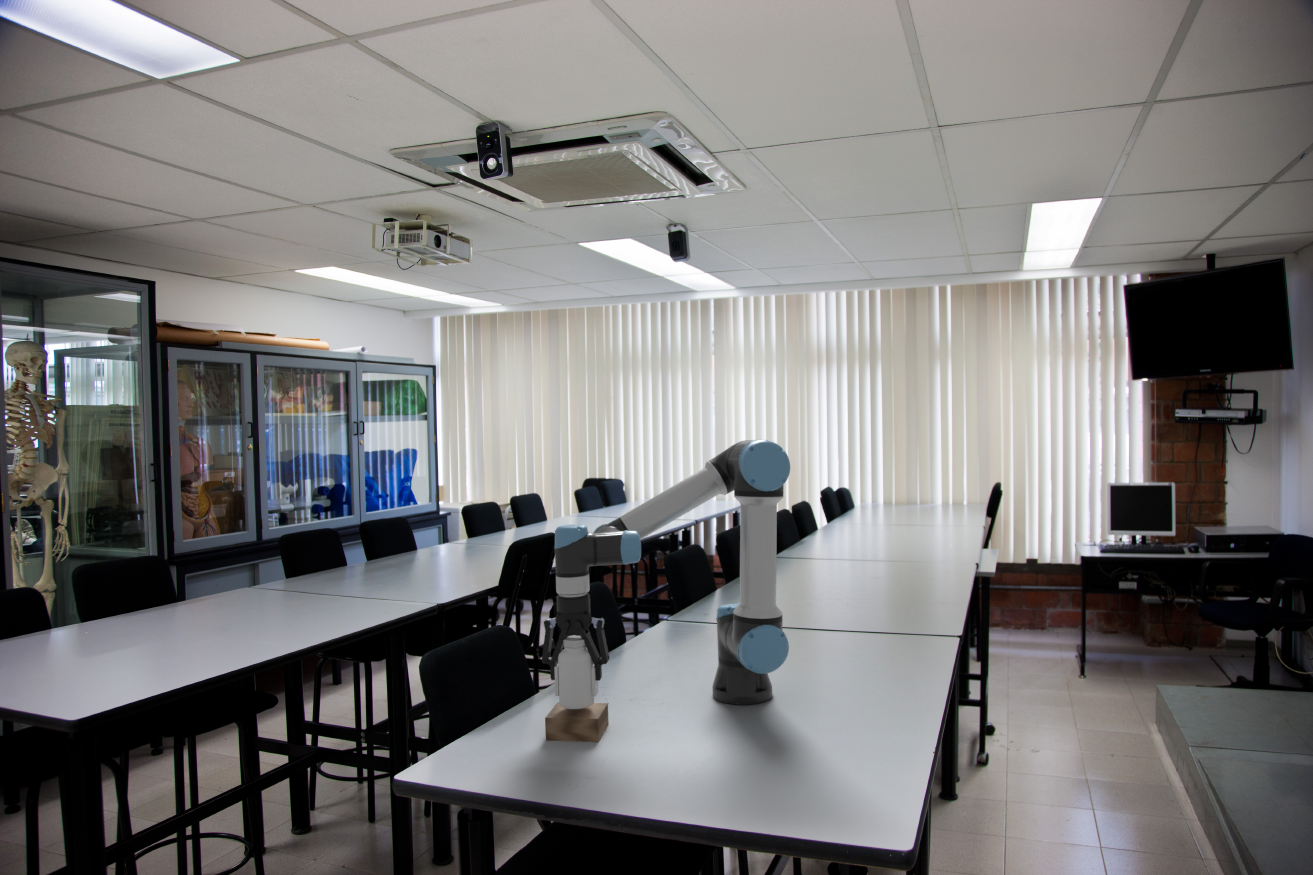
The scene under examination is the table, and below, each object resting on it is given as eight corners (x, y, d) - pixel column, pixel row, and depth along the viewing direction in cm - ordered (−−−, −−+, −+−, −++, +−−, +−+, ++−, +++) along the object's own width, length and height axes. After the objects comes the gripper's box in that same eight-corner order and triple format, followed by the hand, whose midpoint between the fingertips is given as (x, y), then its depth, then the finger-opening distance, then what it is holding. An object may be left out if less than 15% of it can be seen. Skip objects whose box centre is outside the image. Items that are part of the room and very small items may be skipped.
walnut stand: (608, 724, 176) (607, 702, 176) (598, 741, 167) (598, 718, 167) (558, 723, 178) (557, 702, 178) (545, 740, 168) (545, 717, 168)
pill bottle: (589, 710, 168) (586, 642, 168) (554, 709, 169) (552, 642, 169) (599, 698, 175) (596, 633, 176) (565, 697, 177) (563, 633, 177)
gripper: (621, 589, 175) (624, 689, 175) (534, 590, 178) (537, 688, 178) (614, 596, 167) (618, 700, 167) (523, 597, 170) (527, 699, 170)
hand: (576, 694), depth 172 cm, fingers closed on pill bottle, 8 cm apart
